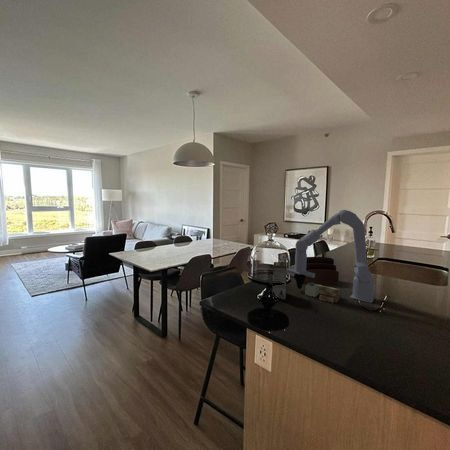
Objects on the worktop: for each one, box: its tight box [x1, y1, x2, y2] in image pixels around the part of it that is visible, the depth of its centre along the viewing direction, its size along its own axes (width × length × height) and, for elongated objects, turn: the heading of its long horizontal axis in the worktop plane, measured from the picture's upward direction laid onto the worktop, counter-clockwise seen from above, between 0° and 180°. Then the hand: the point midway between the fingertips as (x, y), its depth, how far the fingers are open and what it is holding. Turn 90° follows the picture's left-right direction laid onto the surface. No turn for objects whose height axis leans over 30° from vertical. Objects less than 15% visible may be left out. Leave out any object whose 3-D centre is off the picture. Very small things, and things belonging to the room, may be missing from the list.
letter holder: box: [303, 256, 340, 286], centre depth 148 cm, size 10×20×14 cm, turn 85°
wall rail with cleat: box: [317, 284, 342, 304], centre depth 125 cm, size 14×10×4 cm
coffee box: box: [272, 261, 288, 300], centre depth 126 cm, size 9×6×16 cm
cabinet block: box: [304, 282, 320, 298], centre depth 128 cm, size 5×5×6 cm
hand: (299, 288), depth 132 cm, fingers closed
